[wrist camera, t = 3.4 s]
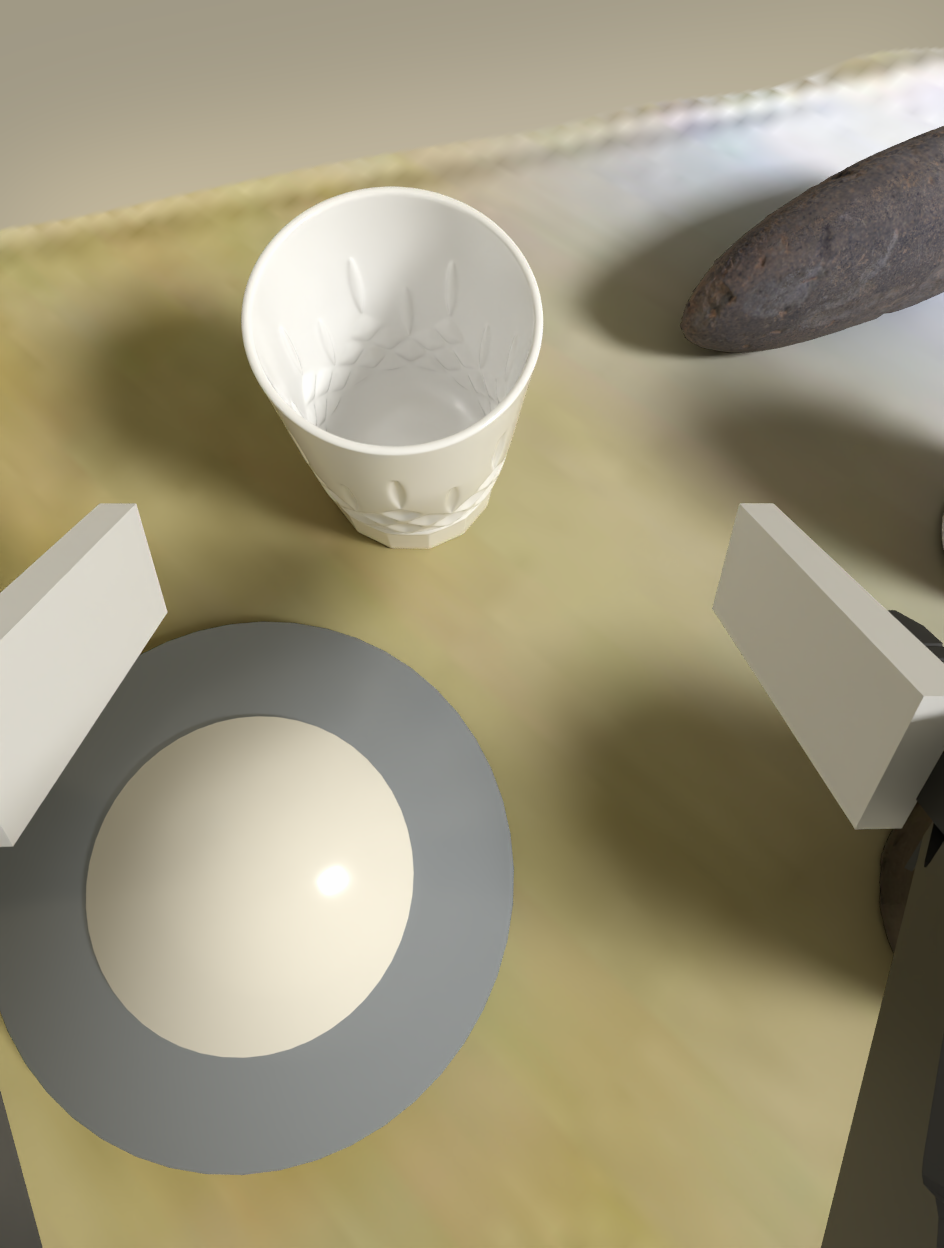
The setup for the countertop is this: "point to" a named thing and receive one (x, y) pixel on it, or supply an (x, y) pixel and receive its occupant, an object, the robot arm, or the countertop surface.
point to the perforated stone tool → (830, 256)
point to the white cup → (396, 355)
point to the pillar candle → (899, 870)
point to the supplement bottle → (943, 531)
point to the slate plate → (256, 901)
